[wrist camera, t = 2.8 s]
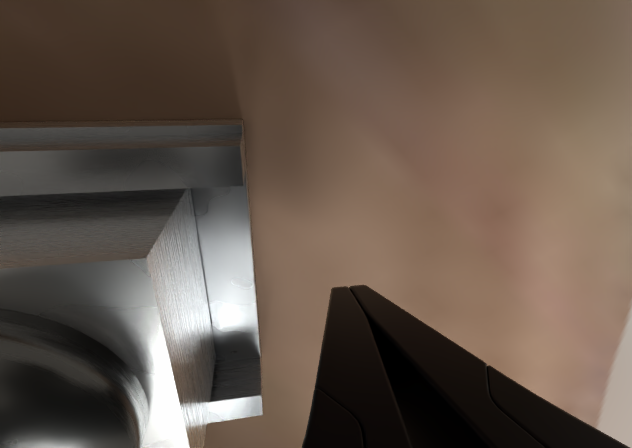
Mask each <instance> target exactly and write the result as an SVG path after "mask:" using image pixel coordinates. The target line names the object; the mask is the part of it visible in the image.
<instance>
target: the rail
mask: <svg viewBox="0 0 632 448" xmlns="http://www.w3.org/2000/svg"><path fill="white" fill-rule="evenodd" d="M183 188H190V191H191V197H192V204H193V210H194V217H195V223H196V230H197V236H198V243H199V249H200V256H201V263H202V269H203V276H204V282H205V289H206V295H207V302H208V308H209V315H210V321H211V328H212V335H213V341H214V348H215V354H216V360H215V367H214V375H213V382H212V390H211V397H210V405H209V412H208V420H207V423H212V422H219V421H226V420H232V419H239V418H246V417H253V416H260V415H263V401H262V356H261V343H260V330H259V317H258V305H257V292H256V279H255V266H254V253H253V241H252V228H251V215H250V202H249V189H248V177H247V164H246V151H245V138H244V126H243V119H227V120H146V121H66V122H0V196H19V195H42V194H66V193H89V192H112V191H136V190H159V189H183Z"/></svg>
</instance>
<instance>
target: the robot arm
mask: <svg viewBox="0 0 632 448" xmlns="http://www.w3.org/2000/svg"><path fill="white" fill-rule="evenodd" d="M302 448H630V447H628V446H626V445H624V444H622V443H621V442H619V441H617V440H615V439H613V438H612V437H610V436H608V435H606V434H604V433H603V432H601V431H599V430H597V429H596V428H594V427H592V426H590V425H588V424H587V423H585V422H583V421H581V420H579V419H578V418H576V417H574V416H572V415H571V414H569V413H567V412H565V411H564V410H562V409H560V408H558V407H557V406H555V405H553V404H551V403H550V402H548V401H546V400H545V399H543V398H541V397H539V396H538V395H536V394H534V393H533V392H531V391H530V390H528V389H526V388H525V387H523V386H521V385H520V384H518V383H517V382H515V381H513V380H512V379H510V378H509V377H507V376H505V375H504V374H502V373H501V372H499V371H498V370H496V369H495V368H493V367H492V366H490V365H489V366H487V364H486V363H485V362H484V361H482V360H481V359H479V358H477V357H476V356H474V355H473V354H471V353H470V352H468V351H467V350H465V349H464V348H462V347H460V346H459V345H457V344H456V343H454V342H453V341H451V340H450V339H448V338H447V337H445V336H443V335H442V334H440V333H439V332H437V331H436V330H434V329H433V328H431V327H430V326H428V325H426V324H425V323H423V322H422V321H420V320H419V319H417V318H416V317H414V316H413V315H411V314H409V313H408V312H406V311H405V310H403V309H402V308H400V307H399V306H397V305H396V304H394V303H392V302H391V301H389V300H388V299H386V298H385V297H383V296H382V295H380V294H379V293H377V292H375V291H374V290H372V289H371V288H369V287H368V286H366V285H356V286H350V287H349V288H348V287H346V286H345V287H334V288H332V289H331V294H330V300H329V306H328V312H327V318H326V324H325V330H324V336H323V342H322V348H321V354H320V360H319V366H318V372H317V378H316V384H315V390H314V394H313V400H312V406H311V411H310V416H309V421H308V425H307V430H306V434H305V438H304V441H303V445H302Z"/></svg>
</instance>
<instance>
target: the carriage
mask: <svg viewBox="0 0 632 448" xmlns="http://www.w3.org/2000/svg"><path fill="white" fill-rule="evenodd" d="M215 360H216V354H215V348H214V341H213V335H212V328H211V321H210V315H209V308H208V302H207V295H206V289H205V282H204V276H203V269H202V263H201V256H200V249H199V243H198V236H197V230H196V223H195V217H194V210H193V204H192V197H191V191H190V188H183V189H159V190H136V191H112V192H89V193H66V194H42V195H19V196H0V448H204V442H205V435H206V427H207V420H208V412H209V405H210V397H211V390H212V382H213V375H214V367H215Z"/></svg>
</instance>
